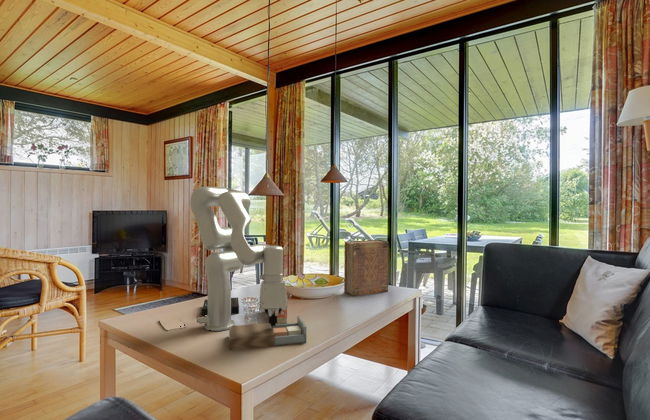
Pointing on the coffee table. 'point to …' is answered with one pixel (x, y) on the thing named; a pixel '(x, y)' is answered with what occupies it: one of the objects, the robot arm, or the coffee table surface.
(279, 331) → the terracotta tile
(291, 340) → the box
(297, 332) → the cream tile
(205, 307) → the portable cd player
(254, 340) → the walnut board
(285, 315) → the stack of blocks
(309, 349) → the coffee table surface
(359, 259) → the book
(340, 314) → the coffee table surface
